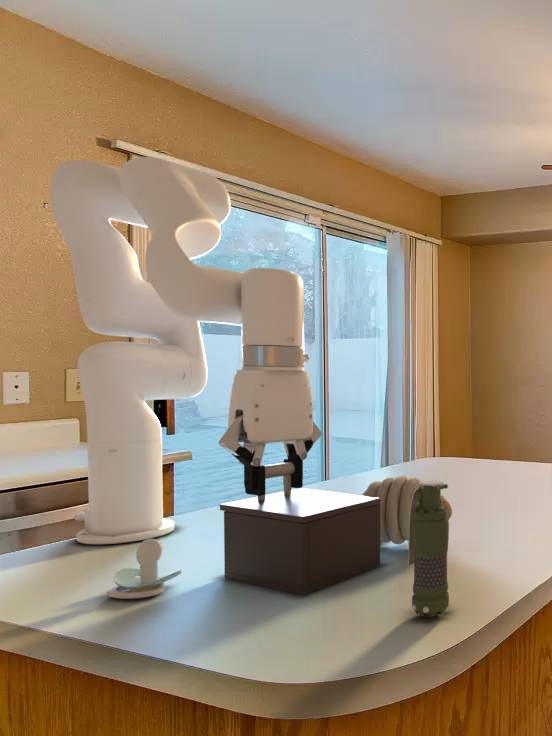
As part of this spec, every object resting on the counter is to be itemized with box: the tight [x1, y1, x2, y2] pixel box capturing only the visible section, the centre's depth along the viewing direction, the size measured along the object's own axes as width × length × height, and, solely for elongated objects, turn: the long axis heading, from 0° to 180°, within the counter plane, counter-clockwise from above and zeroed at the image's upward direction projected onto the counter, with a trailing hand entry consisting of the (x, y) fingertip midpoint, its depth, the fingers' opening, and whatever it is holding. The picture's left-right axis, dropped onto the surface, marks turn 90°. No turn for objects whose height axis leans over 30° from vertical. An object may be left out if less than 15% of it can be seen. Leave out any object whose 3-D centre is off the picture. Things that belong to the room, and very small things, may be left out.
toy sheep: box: [360, 475, 453, 545], centre depth 93 cm, size 11×17×11 cm, turn 98°
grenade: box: [408, 480, 450, 618], centre depth 66 cm, size 4×4×15 cm
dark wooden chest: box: [223, 504, 381, 596], centre depth 80 cm, size 15×13×9 cm
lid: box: [219, 462, 380, 523], centre depth 80 cm, size 15×13×5 cm
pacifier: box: [106, 538, 182, 600], centre depth 72 cm, size 7×6×6 cm
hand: (274, 489), depth 82 cm, fingers closed on lid, 5 cm apart
